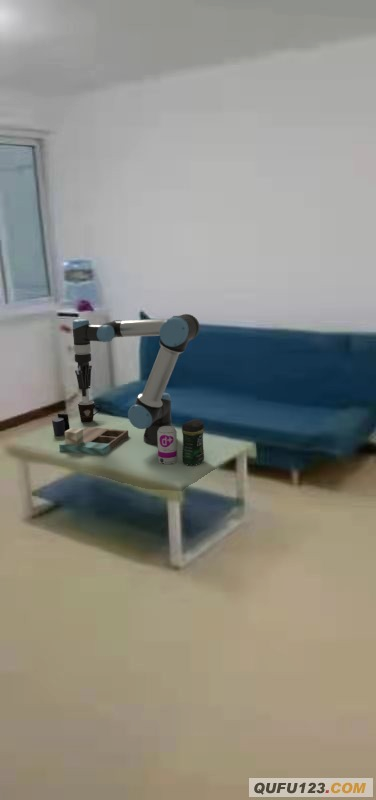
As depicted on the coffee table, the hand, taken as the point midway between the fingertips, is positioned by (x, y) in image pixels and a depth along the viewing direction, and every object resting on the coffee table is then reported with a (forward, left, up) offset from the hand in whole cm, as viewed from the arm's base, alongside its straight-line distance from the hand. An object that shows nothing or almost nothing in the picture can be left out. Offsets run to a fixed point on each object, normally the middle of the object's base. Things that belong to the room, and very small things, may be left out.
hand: (85, 402), depth 295 cm
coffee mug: (+14, -30, -19) cm, 38 cm away
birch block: (0, +13, -16) cm, 20 cm away
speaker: (+17, -5, -19) cm, 26 cm away
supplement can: (-47, +17, -19) cm, 53 cm away
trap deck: (-5, +3, -19) cm, 20 cm away
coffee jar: (-58, +15, -19) cm, 63 cm away
